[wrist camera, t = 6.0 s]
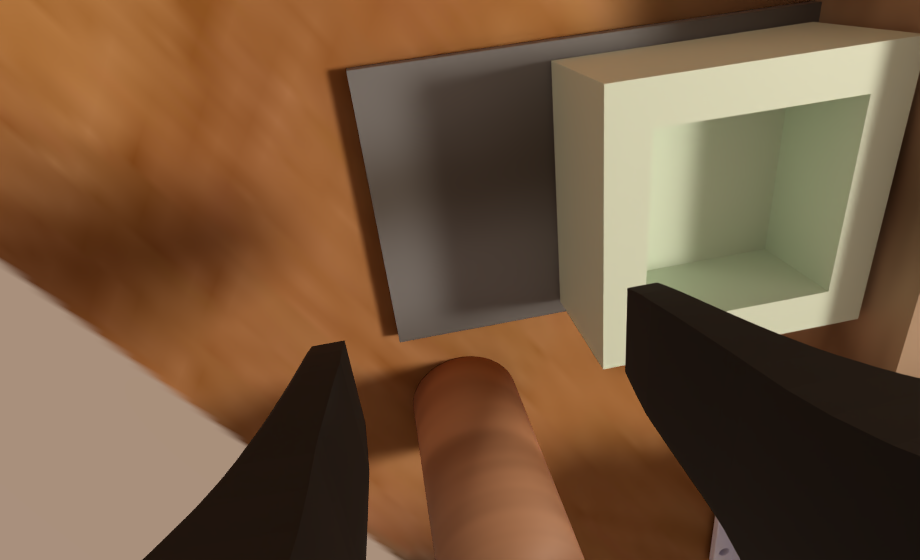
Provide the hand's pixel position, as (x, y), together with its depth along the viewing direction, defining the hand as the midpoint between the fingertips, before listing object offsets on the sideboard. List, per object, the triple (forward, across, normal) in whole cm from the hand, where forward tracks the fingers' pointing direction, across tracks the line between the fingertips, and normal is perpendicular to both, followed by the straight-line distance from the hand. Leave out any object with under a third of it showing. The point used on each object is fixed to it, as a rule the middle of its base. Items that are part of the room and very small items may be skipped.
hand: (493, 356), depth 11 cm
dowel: (+8, 0, +8) cm, 12 cm away
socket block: (+8, -8, 0) cm, 11 cm away
